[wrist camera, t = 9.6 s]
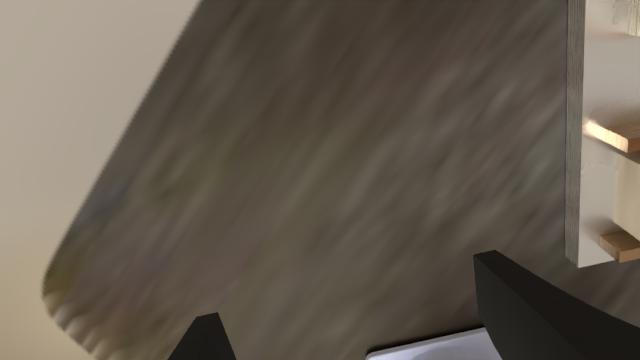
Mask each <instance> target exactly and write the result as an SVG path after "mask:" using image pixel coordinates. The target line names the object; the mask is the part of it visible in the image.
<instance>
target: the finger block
mask: <svg viewBox="0 0 640 360" xmlns="http://www.w3.org/2000/svg"><path fill="white" fill-rule="evenodd" d="M614 222H615V223H616V224H617V225H619V226H620V227H621V228H623V229H624V230H626V231H627V232H628V233H630V234H631V235H632V236H634V237H635V238H636V239H638V240H639V241H640V150H638V151H633V152H629V153H626V152H625V153H621V154H619V156H618V170H617V185H616V199H615V213H614Z"/></svg>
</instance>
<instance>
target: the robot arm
mask: <svg viewBox="0 0 640 360" xmlns="http://www.w3.org/2000/svg"><path fill="white" fill-rule="evenodd" d="M473 258H474V270H475V281H476V293H477V304H478V313H479V315H480V318H481V320H482V322H483V324H484V326H485V327H484V328H480V329H475V330H471V331H466V332H462V333H457V334H453V335H448V336H444V337H439V338H435V339H430V340H426V341H421V342H417V343H412V344H407V345H403V346H398V347H394V348H389V349H385V350H380V351H376V352H372V353H370V354H368V355H367V357H366V360H640V328H638V327H636V326H634V325H632V324H629V323H627V322H625V321H622V320H620V319H618V318H615V317H613V316H611V315H609V314H607V313H605V312H602V311H600V310H598V309H596V308H594V307H592V306H590V305H588V304H586V303H585V302H583V301H581V300H579V299H577V298H575V297H573V296H571V295H569V294H567V293H566V292H564V291H562V290H560V289H558V288H557V287H555V286H553V285H551V284H550V283H548V282H546V281H545V280H543V279H541V278H540V277H538V276H536V275H535V274H533V273H531V272H530V271H528V270H527V269H525V268H523V267H522V266H520V265H519V264H517V263H515V262H514V261H512V260H511V259H509V258H507V257H506V256H504V255H503V254H501V253H499V252H498V251H496V250H493V251H488V252H484V253H479V254H475V255H473ZM168 360H236V358H235V355H234V352H233V350H232V347H231V345H230V342H229V340H228V337H227V335H226V332H225V329H224V327H223V324H222V322H221V319H220V317H219V314H218V312H216V313H212V314H207V315H203V316H199V317H196V318H195V320H194V321H193V323H192V324H191V326H190V327H189V329H188V330H187V331H186V333H185V334H184V336H183V337H182V339H181V340H180V342H179V343H178V345H177V346H176V348H175V349H174V351H173V352H172V354H171V355H170V357H169V358H168Z"/></svg>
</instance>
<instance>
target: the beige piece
mask: <svg viewBox="0 0 640 360" xmlns="http://www.w3.org/2000/svg"><path fill="white" fill-rule="evenodd" d="M638 150H640V0H568V38H567V114H566V191H565V256H566V257H567V258H568V259H569V260H570V261H571V262H572V263H573V264H574V265H575V266H576V267H577V268H581V267H586V266H590V265H594V264H599V263H603V262H608V261H612V260H616V261H617V262H619V263H621V262H626V261H630V260H635V259H639V258H640V241H639V240H638V239H636V238H635V237H634V236H632V235H631V234H630V233H628V232H627V231H626V230H624V229H623V228H621V227H620V226H619V225H617V224H616V223H615V222H614V213H615V199H616V185H617V170H618V156H619V154H621V153H625V152H626V153H629V152H633V151H638Z"/></svg>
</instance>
